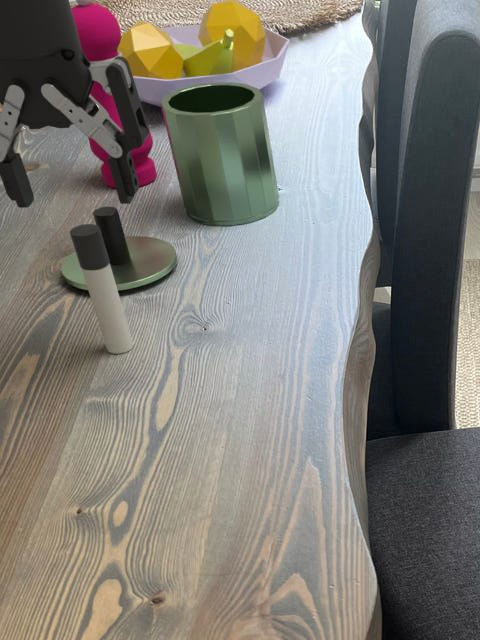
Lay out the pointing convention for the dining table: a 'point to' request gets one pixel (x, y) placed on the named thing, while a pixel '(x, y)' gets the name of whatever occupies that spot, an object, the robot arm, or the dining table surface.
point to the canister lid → (124, 255)
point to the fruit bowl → (203, 52)
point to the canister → (222, 152)
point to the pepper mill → (101, 47)
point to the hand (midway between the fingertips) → (77, 202)
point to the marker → (102, 287)
